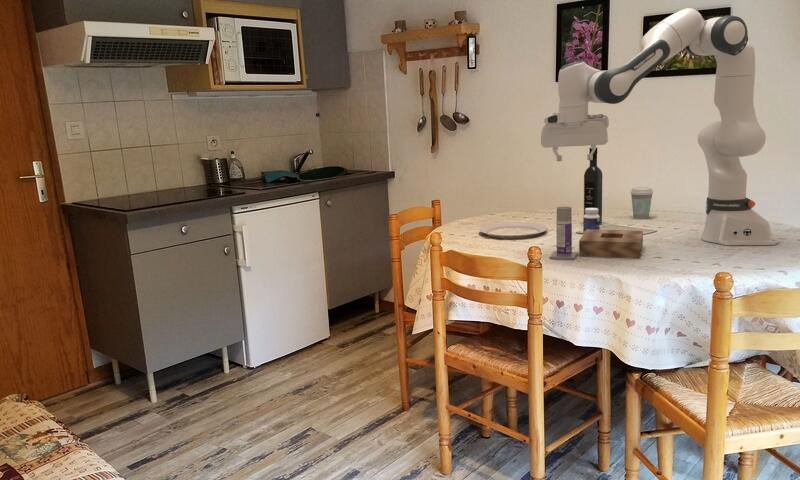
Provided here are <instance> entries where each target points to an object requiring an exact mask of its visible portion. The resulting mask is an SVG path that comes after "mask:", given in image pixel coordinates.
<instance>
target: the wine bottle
mask: <svg viewBox="0 0 800 480" xmlns="http://www.w3.org/2000/svg"><path fill="white" fill-rule="evenodd" d="M588 150H589V153H588V154H590V153H591V151H592V150H593V149H591V147H589V149H588ZM585 208H598V215H599V216H600V225H602V223H603V222H602V221H603V171H602V170H601V169H600V167H599V166H598V147H596V149H595V151H594V153H593V160H589V166H588V167H587V168H586V169H585V171H584V174H583V216H584V215H585V214H586V213H585Z"/></svg>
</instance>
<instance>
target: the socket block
mask: <svg viewBox="0 0 800 480" xmlns="http://www.w3.org/2000/svg"><path fill="white" fill-rule="evenodd" d="M643 236H644V230H633V229H632V230H627V229H626V230H624V229H600V230H595V229H587V230H586V231H585V233H584V234H583V233H582V236H581V238H580V239H579V240H578V248H579V249H578V256H579V257H594V258H596V257H597V258H598V257H599V258H603V257H604V258H621V259H622V258H623V259H641V254H642V249H643V246H644V245H643V244H644V240H643V239H644V237H643Z"/></svg>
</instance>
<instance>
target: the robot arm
mask: <svg viewBox="0 0 800 480" xmlns="http://www.w3.org/2000/svg"><path fill="white" fill-rule="evenodd" d="M748 34H749V33H748V27H747V24H746V22H745V21H744V20H743V18H741V17H739V16H737V15H723V16H716V17H712V18H708V19H706V20H705V19H704V17H703V16H702V14H701V13H700V12H699V11H698V10H697V9H695V8H692V7H686V8H683V9H680V10H679V11H676V12H674V13H673V14H671V15H669V16H667V17H665V18H664V19H663V20H661V21H659V22H658V23H656V24H655V25H653V27H652V28H650V29H649V30H648V31H647V32H646V33H645V34H644V35H643V36H642V38H641V43H640V47H641V51H640V53H638V54H637V55H635V56H634V57H633V58H632V59H630V60H629V61H628V62H626V63H625V64H624V65H623V66H621V67H615V68H612V69H611V68H610V69H607V70H601V69H598V68H595V67H592V66H590V65H588V64H587V63H586V62H585V61H583V60H579V61H575V62H571V63H567V64H565V65H563V66H561V67H560V69H559V72H558V80H557V93H558V97H559V104H558V112H554V113H552V114H550V115H548V116H545V117H544V119H543V123H544V124H545V125H544V126H543V127H542V128H541V134H540V145H541V147H543V148H546V149H547V148H552V152H553V153H554V155H555V156H556V158H555V159H556V160H555V161H556V162H562V161H563V158H562V157H563V155H561V154H559V152H558V150H559V148H562V147H563V148H565V147H585V146H590V148H591V149H593V150H592V151H591V153H590V154H589V153H587V155H586V157H587V161H590V160H593V153H594V151H595V149H596V148H597V146H603V145H606V144H607V143H608V142H609V135H608V127H609V126H610V125H609V122H610V120H609V118H608V116H607V115H604V114H603V113H601V114H600V113H599V114H589V103H595V104H597V103H598V104H608V105H609V104H610V105H617V104H619V103H622V102H623V101H625V100H626V99H627V98H628V96H629V95H631V92H632V91H633V89H634V88H635V86H636V85H637V84H638V83H639V82H640V81H641V80H642V79H643V78H645V77H646V76H647V75H649V74H650V73H651V72H652V71H654V70H655V69H656V68H657V67H659V66H660V65H661V64H663V63H665V62H666V61H669V60H670V59H671V58H673V57H675V56H676V55H678V53H680V52H682V51H683V50H685V51H686V52H687V53H688V54H690V55H691V56H694V57H711V56H714V58H715V61H716V70H715V79H714V80H715V85H714V93H713V94H714V95H713V96H714V97H713V102H714V105H715V107H716V108H717V110H718V111H719V115H720V119H721V120H717V121H712V122H710V123H707V124H705V125H704V126H702V127H701V128H700V130H699V131H698V134H697V142H698V146H699V147H700V148H701V149H702V151H703V154H704V158H705V161H706V167H707V171H708V191H707V192H708V195H707V197H706V201H705V214H706V216H705V222H704V223H705V224H704V227H703V230H702V234H701V237H700V239H701V240H702V241H705V242H709V243H713V244H714V243H715V244H719V245H722V246H775V245H778V244H779V238H778V236H776V235H774V234H772V229H771V225H770V223H769V222H768V220H767V219H766V218H765V217H763V216H762V215H760V214H759V213H758V212H756V211H755V210H753V208H755V207H756V202H755V201H754V200H751V199H750V198H748V197H747V184H748V174H747V171H746V170H745V168H744V167H743V166H742V164H741V159H740V158H743V157H749V156H753V155H756V154H758V153H759V152H760V151H762V150H763V148H764V146H765V144H766V141H767V139H766V138H767V136H766V133H765V130H764V128H763V127H761V125H760V124H759V122H758V119H757V116H756V112H755V111H756V110H755V105H754V96H755V95H754V94H755V93H754V92H755V89H754V87H755V79H756V55H755V54H756V53H755V48H754V45H753V44H752V43H751V42H749V36H748Z"/></svg>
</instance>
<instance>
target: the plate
mask: <svg viewBox="0 0 800 480" xmlns="http://www.w3.org/2000/svg"><path fill="white" fill-rule="evenodd" d="M496 229H497V230H502V229H528V230H534V231H537V232H534V233H528V234H519V235H518V234H516V235H514V234H513V235H512V234H511V235H509V234H505V235H504V234H491V233H490V232H492V231H495V230H496ZM478 230H479V232H480V233H482V234H485V235H487V236H489V237H491V236H492V238H496V237H497V238H496V239H525V238H531V237H535V236H537V235H540V234H541V233H543V232H545V231H547V230H548V227H547V226H546V225H544V224H542V223H537V222H536V223H535V222H527V221H510V222H509V221H505V222H497V223H495V222H494V223H490V224H486V225H484V226H483V225H482V226H481V227H480V228H479V229H478ZM489 231H490V232H489Z"/></svg>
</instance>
